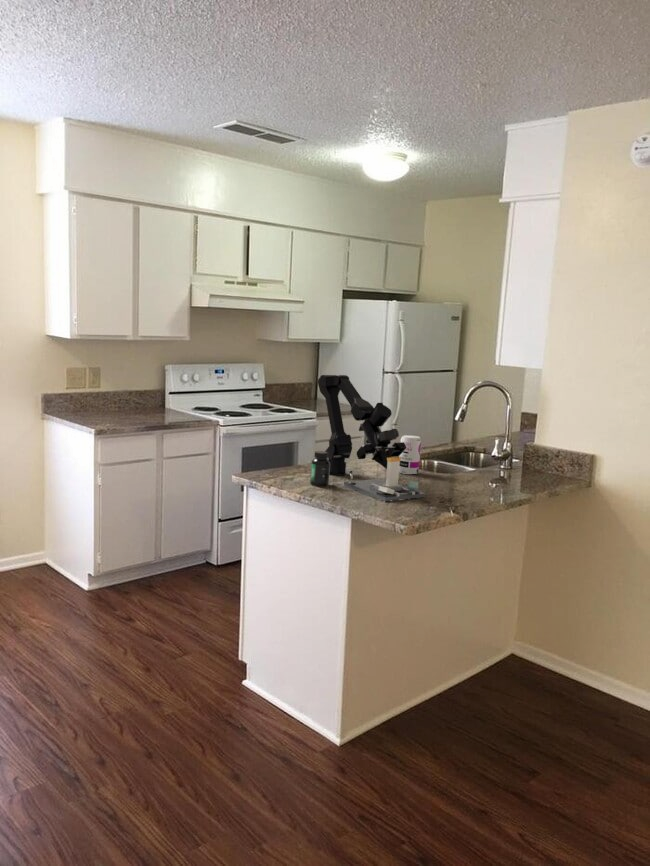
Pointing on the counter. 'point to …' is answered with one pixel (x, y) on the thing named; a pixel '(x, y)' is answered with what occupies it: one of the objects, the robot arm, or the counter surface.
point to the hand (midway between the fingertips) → (390, 470)
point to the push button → (413, 485)
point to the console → (372, 488)
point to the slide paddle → (393, 474)
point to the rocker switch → (386, 489)
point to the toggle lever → (351, 474)
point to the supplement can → (410, 455)
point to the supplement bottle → (320, 469)
